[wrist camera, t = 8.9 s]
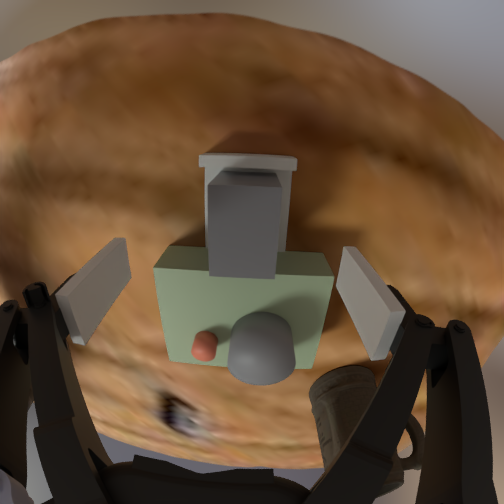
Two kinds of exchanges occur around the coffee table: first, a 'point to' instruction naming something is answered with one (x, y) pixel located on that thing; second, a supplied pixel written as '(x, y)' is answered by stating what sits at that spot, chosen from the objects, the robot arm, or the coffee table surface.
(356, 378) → the beer stein
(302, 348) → the green base with dome
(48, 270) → the coffee table surface
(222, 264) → the tall grey cuboid
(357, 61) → the coffee table surface
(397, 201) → the coffee table surface
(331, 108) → the coffee table surface
